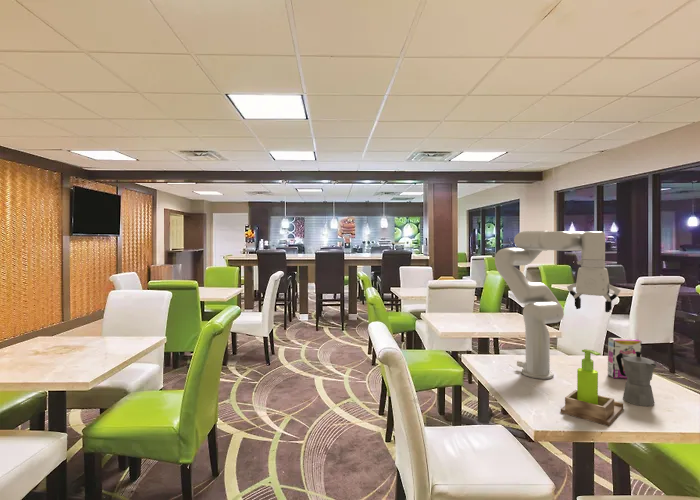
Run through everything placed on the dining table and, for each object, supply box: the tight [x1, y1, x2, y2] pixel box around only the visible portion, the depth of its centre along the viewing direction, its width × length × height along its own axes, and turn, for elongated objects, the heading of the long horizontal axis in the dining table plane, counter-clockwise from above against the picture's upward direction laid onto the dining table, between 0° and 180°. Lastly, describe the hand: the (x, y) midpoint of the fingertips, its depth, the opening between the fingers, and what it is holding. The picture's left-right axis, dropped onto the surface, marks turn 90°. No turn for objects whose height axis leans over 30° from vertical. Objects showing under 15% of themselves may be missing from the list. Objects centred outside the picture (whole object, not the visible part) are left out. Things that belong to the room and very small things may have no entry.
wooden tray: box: [560, 389, 624, 427], centre depth 133 cm, size 14×18×5 cm
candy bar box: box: [607, 337, 642, 380], centre depth 167 cm, size 11×5×16 cm, turn 84°
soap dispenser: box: [576, 348, 602, 405], centre depth 131 cm, size 6×7×20 cm
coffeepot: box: [616, 351, 658, 407], centre depth 142 cm, size 15×9×18 cm, turn 13°
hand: (592, 310), depth 147 cm, fingers open, 9 cm apart
